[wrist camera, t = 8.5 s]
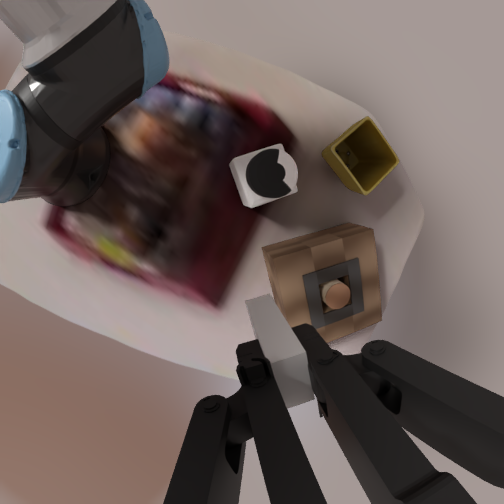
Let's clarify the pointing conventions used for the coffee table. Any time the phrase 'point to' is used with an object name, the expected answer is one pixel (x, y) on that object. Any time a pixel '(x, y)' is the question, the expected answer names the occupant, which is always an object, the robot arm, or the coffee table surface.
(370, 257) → the socket block
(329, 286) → the peg
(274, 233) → the coffee table surface
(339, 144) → the flower pot
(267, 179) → the medicine bottle
